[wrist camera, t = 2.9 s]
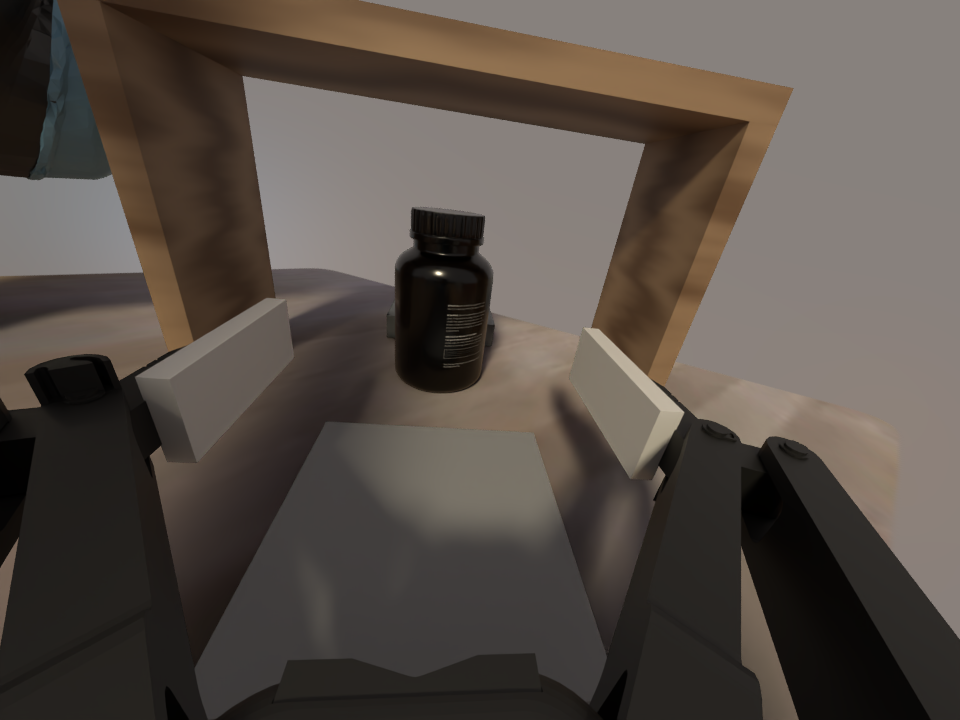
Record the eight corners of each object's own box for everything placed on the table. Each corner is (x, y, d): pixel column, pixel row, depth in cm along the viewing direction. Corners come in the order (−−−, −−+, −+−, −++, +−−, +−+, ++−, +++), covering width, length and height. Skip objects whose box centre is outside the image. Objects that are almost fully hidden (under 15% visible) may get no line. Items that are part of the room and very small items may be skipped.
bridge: (648, 421, 25) (793, 88, 16) (181, 393, 21) (36, -65, 12) (596, 359, 33) (671, 123, 25) (262, 331, 30) (211, 40, 21)
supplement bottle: (478, 357, 31) (498, 214, 25) (482, 399, 24) (509, 222, 19) (401, 350, 30) (404, 201, 25) (385, 391, 24) (385, 206, 18)
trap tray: (491, 345, 33) (494, 325, 32) (386, 337, 32) (386, 315, 31) (485, 323, 38) (488, 305, 37) (396, 315, 37) (396, 296, 36)
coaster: (175, 733, 9) (166, 720, 8) (327, 432, 19) (326, 421, 19) (613, 711, 10) (621, 699, 10) (530, 442, 21) (533, 432, 20)
